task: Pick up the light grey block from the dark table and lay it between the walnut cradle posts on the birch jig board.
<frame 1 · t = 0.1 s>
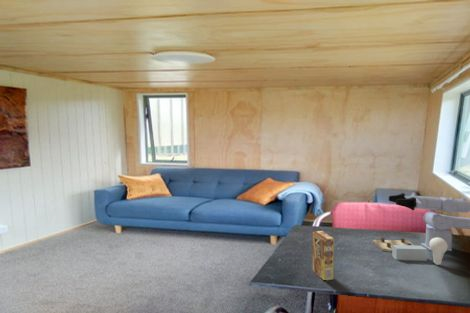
hand: (392, 200, 141), 22 cm above the table, tool horizontal, fingers open, 7 cm apart
light grey block: (409, 258, 130), on the table
jig: (395, 246, 143), on the table
candy box: (322, 275, 115), on the table
lightbulb: (437, 265, 124), on the table
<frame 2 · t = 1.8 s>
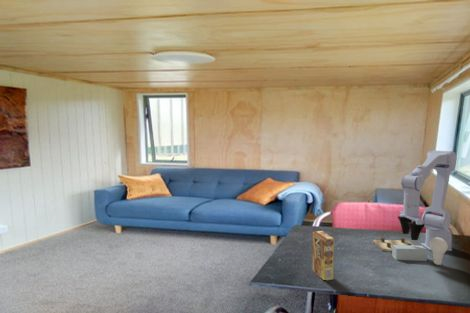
hand: (409, 236, 129), 9 cm above the table, tool pointing down, fingers open, 7 cm apart
nothing on the table moved.
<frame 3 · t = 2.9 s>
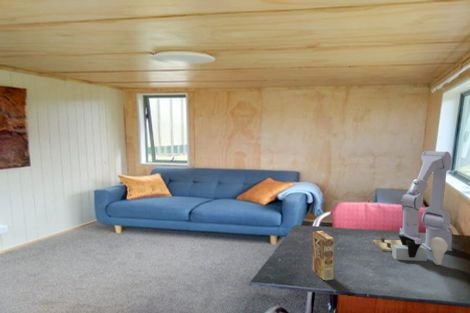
hand: (409, 254, 130), 1 cm above the table, tool pointing down, fingers closed on light grey block, 4 cm apart
light grey block: (409, 258, 130), on the table, touching gripper
everything else where it was.
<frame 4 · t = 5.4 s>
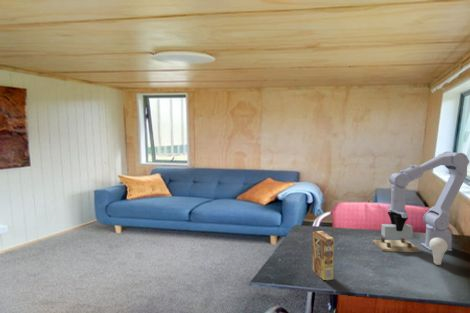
hand: (397, 229, 142), 8 cm above the table, tool pointing down, fingers closed on light grey block, 4 cm apart
light grey block: (396, 236, 142), point 5 cm above the table, touching gripper
everything else where it was.
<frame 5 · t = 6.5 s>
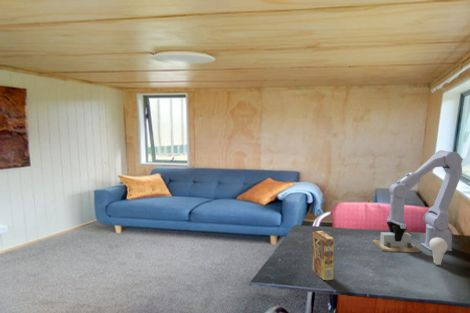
hand: (395, 239, 143), 3 cm above the table, tool pointing down, fingers closed on light grey block, 4 cm apart
light grey block: (395, 244, 143), point 1 cm above the table, touching gripper, jig
everything else where it was.
when the fingers open (3 cm above the table, at t = 6.9 s): light grey block stays where it is, resting on jig.
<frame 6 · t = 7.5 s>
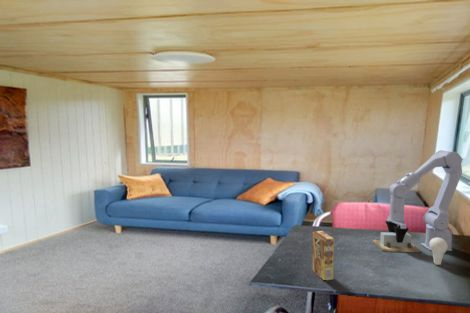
hand: (395, 239, 143), 3 cm above the table, tool pointing down, fingers open, 7 cm apart
light grey block: (395, 244, 143), point 1 cm above the table, touching jig
everything else where it was.
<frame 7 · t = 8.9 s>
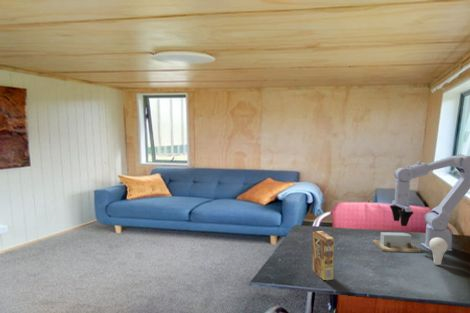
hand: (400, 223, 144), 10 cm above the table, tool pointing down, fingers open, 7 cm apart
nothing on the table moved.
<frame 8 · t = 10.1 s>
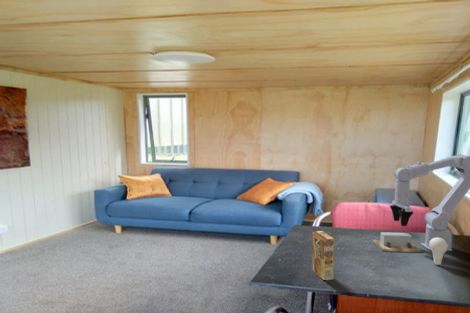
hand: (400, 223, 144), 10 cm above the table, tool pointing down, fingers open, 7 cm apart
nothing on the table moved.
at the end: light grey block 0.1 cm off-centre on the jig, point 1.0 cm above the jig's base; light grey block tilted 0°; the gripper is holding nothing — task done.
